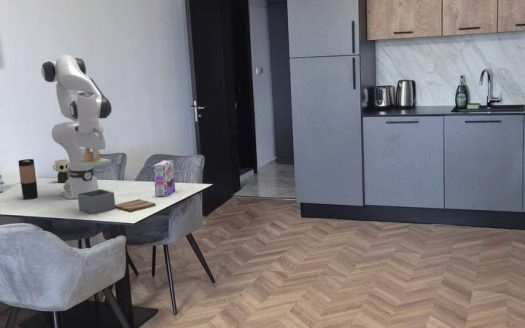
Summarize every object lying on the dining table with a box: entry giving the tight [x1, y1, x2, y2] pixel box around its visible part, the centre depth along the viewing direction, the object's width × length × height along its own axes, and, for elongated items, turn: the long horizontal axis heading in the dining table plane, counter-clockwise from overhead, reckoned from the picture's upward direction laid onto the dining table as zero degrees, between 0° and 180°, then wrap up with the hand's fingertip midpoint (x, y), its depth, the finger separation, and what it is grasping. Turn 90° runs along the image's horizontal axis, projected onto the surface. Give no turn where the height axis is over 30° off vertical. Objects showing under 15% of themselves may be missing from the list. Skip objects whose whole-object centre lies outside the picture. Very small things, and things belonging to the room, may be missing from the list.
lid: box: [74, 150, 112, 168], centre depth 263 cm, size 12×12×6 cm
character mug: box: [52, 158, 70, 183], centre depth 334 cm, size 11×7×13 cm, turn 137°
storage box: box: [77, 189, 116, 216], centre depth 266 cm, size 12×12×8 cm
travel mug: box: [17, 158, 39, 200], centre depth 296 cm, size 8×8×20 cm
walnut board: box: [115, 198, 157, 213], centre depth 270 cm, size 14×14×1 cm
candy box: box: [153, 160, 176, 198], centre depth 293 cm, size 14×6×16 cm, turn 168°
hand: (92, 157), depth 263 cm, fingers closed on lid, 3 cm apart
